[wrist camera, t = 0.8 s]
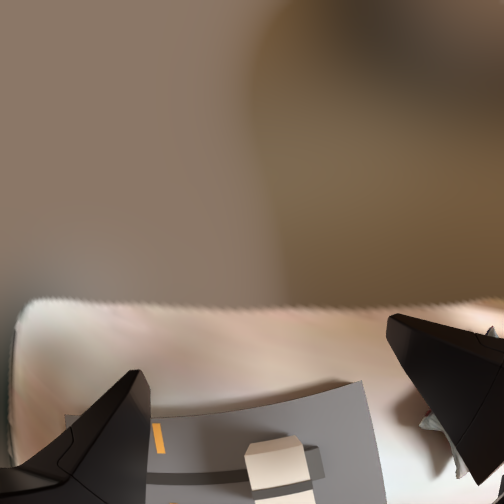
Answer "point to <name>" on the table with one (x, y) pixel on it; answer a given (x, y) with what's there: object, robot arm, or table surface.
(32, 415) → the table surface
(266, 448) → the block
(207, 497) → the console
